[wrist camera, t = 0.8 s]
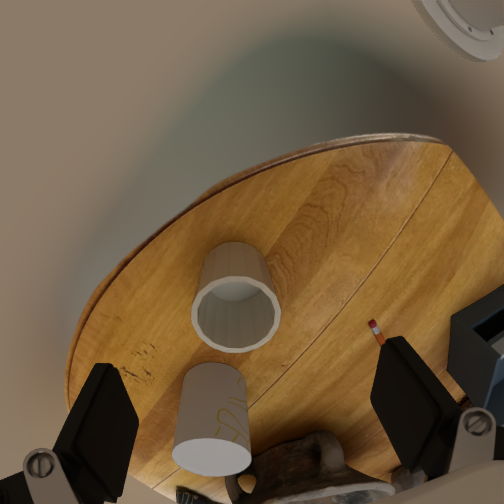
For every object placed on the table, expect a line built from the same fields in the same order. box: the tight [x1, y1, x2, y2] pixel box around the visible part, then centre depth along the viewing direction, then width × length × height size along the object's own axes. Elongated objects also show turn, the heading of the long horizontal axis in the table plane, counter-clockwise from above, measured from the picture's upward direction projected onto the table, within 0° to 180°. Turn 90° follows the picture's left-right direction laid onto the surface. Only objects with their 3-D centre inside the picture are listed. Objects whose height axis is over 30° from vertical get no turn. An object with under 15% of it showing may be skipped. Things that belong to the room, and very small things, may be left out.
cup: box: [172, 362, 251, 477], centre depth 31 cm, size 8×8×12 cm
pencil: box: [369, 320, 385, 346], centre depth 38 cm, size 1×19×1 cm, turn 35°
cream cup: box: [191, 242, 281, 353], centre depth 28 cm, size 7×7×9 cm
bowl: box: [225, 430, 396, 504], centre depth 37 cm, size 27×26×15 cm
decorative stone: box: [391, 466, 426, 494], centre depth 44 cm, size 17×20×10 cm
